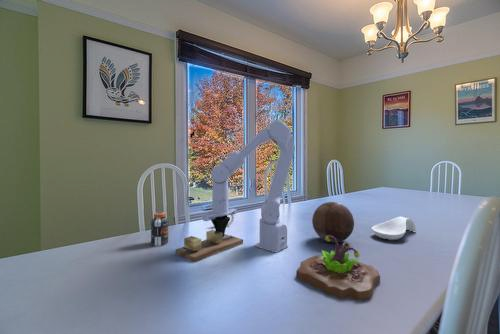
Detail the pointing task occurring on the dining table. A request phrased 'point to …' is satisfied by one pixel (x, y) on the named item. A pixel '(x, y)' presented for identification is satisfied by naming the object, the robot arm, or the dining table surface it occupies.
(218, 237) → the block
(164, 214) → the pill bottle
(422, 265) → the dining table surface
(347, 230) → the wooden sphere
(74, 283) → the dining table surface
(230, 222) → the ring
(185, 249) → the flat brown board
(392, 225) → the spoon rest
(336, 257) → the plant
